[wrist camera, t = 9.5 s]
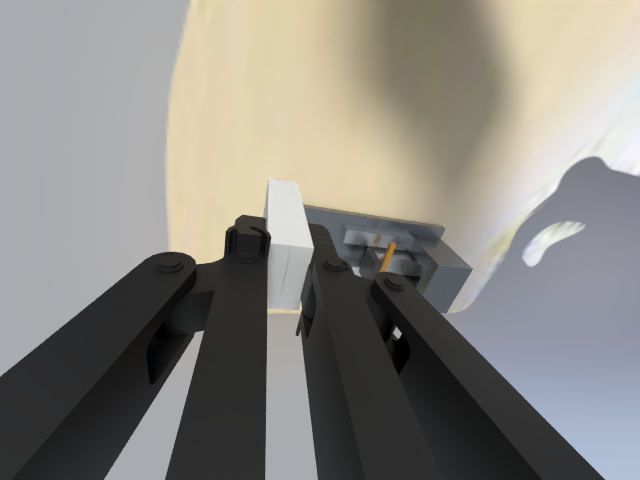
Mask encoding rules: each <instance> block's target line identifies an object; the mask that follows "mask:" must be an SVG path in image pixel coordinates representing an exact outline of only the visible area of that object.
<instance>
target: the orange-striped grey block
mask: <svg viewBox="0 0 640 480" xmlns="http://www.w3.org/2000/svg"><path fill="white" fill-rule="evenodd" d="M395 247H396V244H395V243H394V242H389V244H388V247H387V249H386V248H378V247H370V246H368V248H367V249H366V252H365V255H364V258H363V260H362V263H361V266H360V269H359V273H360V275H361V277H363V278H367V279H370V280H374V278H375V275H376V274H377V273H379V272H383V271H384V272H392V273H396V274H401V275H412V276H422V275H423V273H424V271H425V270H424V269H423V267H422V266H421V265H420V264H419V263H418V261H417V260H416V259H415V258H414V256H413V255H412V254H411V253H410V252H409V251H403V250H394V249H395Z"/></svg>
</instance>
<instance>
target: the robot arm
mask: <svg viewBox="0 0 640 480" xmlns="http://www.w3.org/2000/svg"><path fill="white" fill-rule="evenodd" d="M300 301H301V302H302V311H301V315H300V319H299V323H298V326H297V330H296V336H298V335H299V333H300V330H301V336H302V345H303V354H304V363H305V372H306V380H307V388H308V397H309V406H310V414H311V423H312V432H313V440H314V449H315V458H316V466H317V474H318V480H605V479H604V478H603V477H602V476H601V475H600V474H599V473H598V472H597V471H596V470H595V469H594V468H593V467H592V466H591V465H590V464H589V463H588V462H587V461H586V460H585V459H584V458H583V457H582V456H581V455H580V454H579V453H578V452H577V451H576V450H575V449H574V448H573V447H572V446H571V445H570V444H569V443H568V442H567V441H566V440H565V439H564V438H563V437H562V436H561V435H560V434H559V433H558V432H557V431H556V430H555V429H554V428H553V427H552V426H551V425H550V424H549V423H548V422H547V421H546V420H545V419H544V418H543V417H542V416H541V415H540V414H539V413H538V412H537V411H536V410H535V409H534V408H533V407H532V406H531V405H530V404H529V403H528V402H527V401H526V400H525V399H524V398H523V396H522V395H521V394H520V393H518V392H517V390H516V389H515V388H514V387H513V386H512V385H511V384H510V383H509V382H507V380H506V379H505V378H504V377H503V376H502V375H501V374H500V373H499V372H498V371H497V370H496V369H495V368H494V367H493V366H492V365H491V364H490V363H489V362H488V361H487V360H486V359H485V358H484V357H483V356H482V355H481V354H480V353H479V352H478V351H477V350H476V349H475V348H474V347H473V346H472V345H471V344H470V343H469V342H468V341H467V340H466V339H465V338H464V337H463V336H462V335H461V334H460V333H459V332H458V331H457V330H456V329H455V328H454V327H453V326H452V325H451V324H450V323H449V322H448V321H447V320H446V319H445V318H444V317H443V316H442V315H441V314H440V313H439V312H438V311H437V310H436V309H435V308H434V307H433V306H432V305H431V304H430V303H429V302H428V301H427V300H426V299H425V298H424V297H423V296H422V295H421V294H420V293H419V292H418V291H417V290H416V289H415V288H414V287H413V286H412V285H411V284H410V283H409V282H408V281H407V280H406V279H405V278H403V277H401V276H399V275H398V274H396V273H392V272H384V271H383V272H379V273H377V274H376V275H375V278H374V280H370V279H367V278H363V277H360V276H358V275H355V274H354V272H353V269H352V267H351V266H350V264H349V263H348V262H346V261H345V260H344V259H342V258H339V256H338V254H337V251H336V249H335V246H334V243H333V241H332V238H331V236H330V233H329V231H328V230H327V229H326V228H325V227H324V226H323V225H319V224H312V223H307V219H306V215H305V211H304V207H303V204H302V200H301V196H300V192H299V188H298V184H297V183H295V182H290V181H284V180H278V179H272V178H269V180H268V187H267V194H266V201H265V208H264V215H263V218H262V217H255V216H247V215H241V216H240V217H239V218H237V219H236V221H235V225H234V226H232V227H229V228H228V229H227V231H226V236H225V251H224V257H223V258H222V259H220V260H218V261H215V262H212V263H206V264H197V265H196V262H195V260H194V259H193V258H192V257H191V256H189V255H187V254H184V253H179V252H163V253H159V254H156V255H152V256H151V257H149V258H147V259H145V260H144V261H143V262H142V263H141V264H139V265H138V266H137V267H135V268H134V269H133V270H132V271H130V272H129V273H128V274H127V275H126V276H124V277H123V278H122V279H121V280H119V281H118V282H117V283H116V284H114V285H113V286H112V287H111V288H110V289H108V290H107V291H106V292H105V293H103V294H102V295H101V296H100V297H98V298H97V299H96V300H95V301H94V302H92V303H91V304H90V305H88V306H87V307H86V308H85V309H83V310H82V311H81V312H80V313H79V314H77V315H76V316H75V317H74V318H72V319H71V320H70V321H69V322H67V323H66V324H65V325H64V326H62V327H61V328H60V329H59V330H58V331H56V332H55V333H54V334H53V335H51V336H50V337H49V338H48V339H46V340H45V341H44V342H43V343H42V344H40V345H39V346H38V347H36V348H35V349H34V350H33V351H32V352H30V353H29V354H28V355H27V356H25V357H24V358H23V359H22V360H20V361H19V362H18V363H17V364H16V365H14V366H13V367H12V368H11V369H9V370H8V371H7V372H6V373H4V374H3V375H2V376H1V377H0V480H104V478H105V477H106V475H107V474H108V472H109V470H110V469H111V467H112V466H113V464H114V462H115V460H116V459H117V458H118V456H119V454H120V453H121V451H122V450H123V448H124V447H125V445H126V443H127V442H128V440H129V439H130V437H131V436H132V434H133V432H134V431H135V429H136V428H137V426H138V424H139V423H140V421H141V420H142V418H143V416H144V415H145V413H146V412H147V410H148V408H149V407H150V405H151V404H152V402H153V401H154V399H155V397H156V396H157V394H158V393H159V391H160V389H161V388H162V386H163V384H164V383H165V381H166V380H167V378H168V377H169V375H170V374H171V372H172V370H173V369H174V367H175V366H176V364H177V362H178V361H179V359H180V358H181V356H182V354H183V353H184V351H185V350H186V348H187V346H188V345H189V343H190V342H191V340H192V339H193V337H194V334H195V332H198V331H203V330H204V334H203V338H202V341H201V345H200V349H199V353H198V357H197V360H196V364H195V368H194V372H193V376H192V380H191V383H190V387H189V391H188V395H187V398H186V402H185V406H184V410H183V414H182V418H181V421H180V425H179V429H178V433H177V436H176V440H175V444H174V448H173V452H172V455H171V459H170V463H169V467H168V471H167V474H166V478H165V480H265V447H266V445H265V444H266V442H265V441H266V366H267V365H266V364H267V308H273V309H292V310H298V309H299V305H300ZM396 326H397V328H398V329H399V330H400V332H401V333H402V335H401V337H400V338H399V339H398V338H397V337H395V335H394V334H393V331H394V330H395V328H396Z"/></svg>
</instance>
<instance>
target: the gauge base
mask: <svg viewBox="0 0 640 480" xmlns="http://www.w3.org/2000/svg"><path fill="white" fill-rule="evenodd" d="M303 207H304V211H305V215H306V219H307V223H312V224H319V225H323V226H324V227H325V228H326V229H327V230H328V231H329V233H330V236H331V238H332V241H333V243H334V246H335V249H336V251H337V254H338V256H339V258H342V259H344V260H345V261H346V262H348V263H349V264H350V266H351V267H352V269H353V272H354V274H355V275H358V276H360V277H361V275H360V273H359V269H360V266H361V263H362V260H363V258H364V255H365V252H366V249H367V248H368V246H370V247H378V248H386V249H387V247H388V244H389V242H394V243H395V244H396V247H395V249H394V250H403V251H409V252H410V253H411V254H412V255H413V256H414V258H415V259H416V260H417V261H418V263H419V264H420V265H421V266H422V267H423V269H424V270H425V271H424V273H423V275H422V276H412V275H401V274H398V275H399V276H401V277H403V278H405V279H406V280H407V281H408V282H409V283H410V284H411V285H412V286H413V287H414V288H415V289H416V290H417V291H418V292H419V293H420V294H421V295H422V296H423V297H424V298H425V299H426V300H427V301H428V302H429V303H430V304H431V305H432V306H433V307H434V308H435V309H436V310H437V311H438V312H439V313H446V312H447V311H448V309H449V308H450V306H451V304H452V303H453V301H454V299H455V298H456V296H457V294H458V293H459V291H460V290H461V288H462V286H463V285H464V283H465V281H466V280H467V278H468V276H469V275H470V273H471V272H472V270H473V269H472V268H471V267H470V266H469V265H468V264H467V263H466V262H465V261H464V260H463V259H462V258H460V257H459V256H458V255H457V254H456V253H455V252H454V251H453V250H452V249H451V248H450V247H449V246H448V245H446V244H445V243H444V242H443V241H442V240H441V237H442V235H443V233H444V231H445V228H444V227H442V226H437V225H431V224H424V223H418V222H411V221H405V220H398V219H392V218H385V217H379V216H373V215H366V214H360V213H353V212H347V211H340V210H334V209H327V208H321V207H314V206H308V205H303Z"/></svg>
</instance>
